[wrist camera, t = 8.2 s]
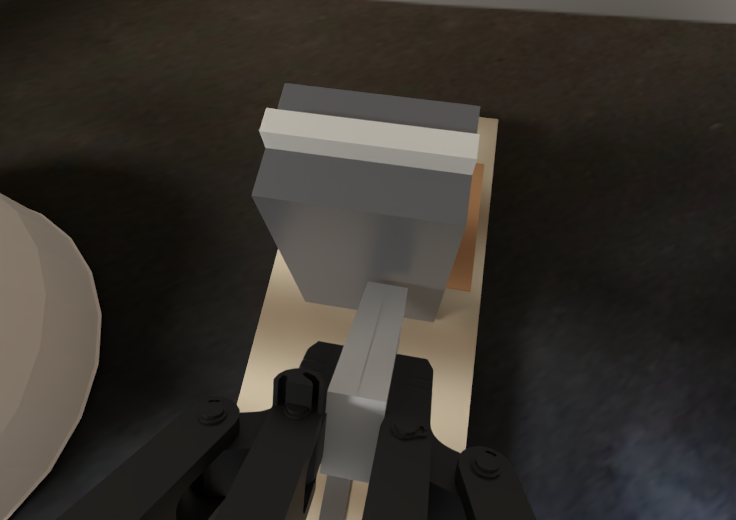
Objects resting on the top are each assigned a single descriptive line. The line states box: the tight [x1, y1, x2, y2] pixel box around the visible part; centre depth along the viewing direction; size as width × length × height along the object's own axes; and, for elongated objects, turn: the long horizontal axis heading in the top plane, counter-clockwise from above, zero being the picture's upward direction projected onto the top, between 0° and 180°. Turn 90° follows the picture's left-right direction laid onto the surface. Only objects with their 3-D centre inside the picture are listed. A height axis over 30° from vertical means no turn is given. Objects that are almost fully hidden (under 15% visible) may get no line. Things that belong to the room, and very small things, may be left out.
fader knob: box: [251, 83, 480, 322], centre depth 19 cm, size 4×6×11 cm, turn 80°
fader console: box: [237, 117, 498, 520], centre depth 24 cm, size 26×10×3 cm, turn 170°
